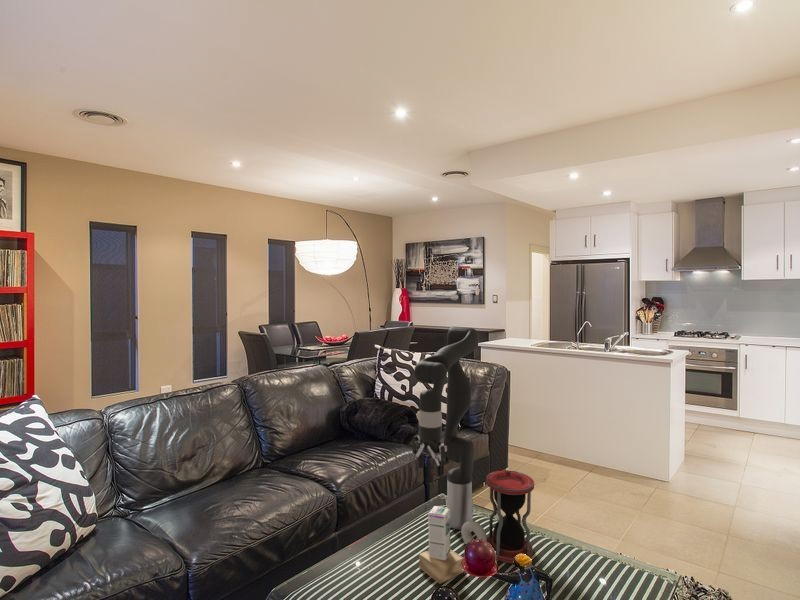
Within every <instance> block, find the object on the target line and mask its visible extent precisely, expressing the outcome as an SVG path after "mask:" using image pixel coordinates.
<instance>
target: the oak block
mask: <svg viewBox="0 0 800 600" xmlns="http://www.w3.org/2000/svg"><path fill="white" fill-rule="evenodd" d="M418 559H419V562H418V563H419V565H418V566H419V569H420V570H421V571H422V572H424V573H425V574H427V575H428V576H429V577H430V578H431V579H433V580H434V581H435V582H436V583H438V584H439V585H440V584H442V583H445V582H447V581H448V580H451V579H452V578H453V579H454V577H456V576H458V575H460V574H463V573H464V569H463V570H462V566H461V561H462V559H463V560H464V557H463V556H462V555H460V554H458V553H457V552H455V551H454V550H452V549H451V552H450V553H449V555H448V557H447V559H446V560H445V561H444V560H439V559H435V558H431V557H429V549H428V550H425V551H422V552H421V553H419V558H418Z"/></svg>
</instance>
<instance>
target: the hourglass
mask: <svg viewBox="0 0 800 600" xmlns="http://www.w3.org/2000/svg"><path fill="white" fill-rule="evenodd" d="M485 484H486V485H487V486H488V487H489V499H490V503H491V505H492V509H493V511H492V513H491V514H490V516H489V519H488V520H489V523H488V524H489V527H488V528H489V531H488V532H489V533H488V534H489V535H488V536H487V542H489V543H490V544H491V545H492V547H493V548H494V550H495V551H496V555H497V560H496V561H500V562H502V563H506V564H514V563H513V560H514V557H515V556H516V555H517V554H519V553H524V554H526V555H528V556H529V557H531V558H532V556H533V555H534V554H533V551H534V550H533V545H532V544H531V541H530V540H531V531H530V529H529V527H528V525H527V517H528V516H529V515H530V513H531V506H532V505H531V503H532V502H531V500H532V499H531V497H532V492H533V490H534V489H535V481H534V479H533V478H532V477H531V476H529V475H528V474H525V473H523V472H519V471H516V470H515V471H514V470H496V471H492V472H490V473H488V474H487V475H486V480H485ZM526 494H527V497H526ZM526 499H527V500H526ZM526 502H527V503H526ZM525 503H526V512H525V514H523V515H522V517H521V514H520V511H521V509H522V508H523V506H524V505H525ZM501 511H502V512H503V513H504V514H505V515H504V516H503V515H502V512H501ZM514 514H515V515H516V517H517V518H516V517H515V516H514ZM496 515H497V516H498V521H497V522H496V523H495V524H494V523H493V522H494V517H495V516H496ZM493 524H494V526H493ZM524 529H525V530H524ZM525 533H526V535H525ZM525 537H526V538H525Z"/></svg>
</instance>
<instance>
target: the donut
mask: <svg viewBox="0 0 800 600" xmlns="http://www.w3.org/2000/svg"><path fill="white" fill-rule="evenodd" d="M472 532H473V533H474V534H475V536H476V538H478V539H484V540H485V541H487V538H488V535H487V532H486V530H485V529H484V526H482V525H481V523H479V522H477V521H475V520H473V521H472V520H471V521H467V522H465V523H464V525H463V526H462V530H461V532H460V533H461V537H462V540H463V543H465V545H466V544H467V543H468V542H470V541H471V540H472V539H475V538H474V537H473V535H472Z"/></svg>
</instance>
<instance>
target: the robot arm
mask: <svg viewBox="0 0 800 600" xmlns="http://www.w3.org/2000/svg"><path fill="white" fill-rule="evenodd" d="M478 334H479V332H478V331H477V330H476V329H475V328H473V327H466V326H464V327H463V326H451V327H449V329H448V331H447V336H446V345H445V346H444V347H441V348H440V349H438V350H437V351H436V352H435V353H434V354H433V355H431V356H428V357H426V358H423V359H421V360H420V361H418V362H417V364H416V365H415V366H414V369H413V376H414V378H415V380H416V381H417V382H418V383H420V384H426V385H427V384H429V385H433V386H432V389H425V390H422V391H421V392H420V393H419V410H418V411H419V412H418V435H417V434H416V435H414V436H413V437H412V449H411V450H412V454H413V455H415V457H416V458H417V460H416V463H417V464H416V466H417V468H418V469H420V470H421V469H423V468H424V467H425V456H424V455H425V454H427V455H430V456H431V457H432V460H434V461H435V463H436V477H438V478H440V477H443V475H444V467H445V466H446V465H448V464H450V462H454V463H458V464H460V466H458V467H454V468H451V469H449V470H448V471H447V479H446V480H447V483H446V484H447V485H446V486H447V489H446V490H447V491H446V492H447V493H446V495H447V496H446V498H447V499H446V508H449V509H450V529H451V528H452V529H453V530H461V531H462V526H463V525H464V523H465V522H467V521H471V520H472V521H474V519H473V518H474V498H473V497H472V490H473V489H472V488H473V487H472V484H473V483H472V481H473V472H474V459H475V445H474V442H473V441H472V439H469V438H465V437H461V436H457V434H458V433H457V432H458V427H459V423H460V422H461V420H462V419H463V417H464V416H465V414H466V413H467V411H468V410H469V408H470V406H471V403H472V385H471V382H470V380H469V378H468V376H467V374H466V372H465V371H464V369H463V368H462V365H461V362H460V360H461V359H462V358H464V357H466V356H468V355H469V354H472V353H473V352H474V351H475V350H476V349H477V347H478V345H479V335H478ZM446 380H447V382H446ZM445 383H447V385H446V414H445V417H446V418H445V429H444V435H443V415H442V395H443V391H444V387H445ZM442 436H444V437H443V444H442V443H441V439H442Z"/></svg>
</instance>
